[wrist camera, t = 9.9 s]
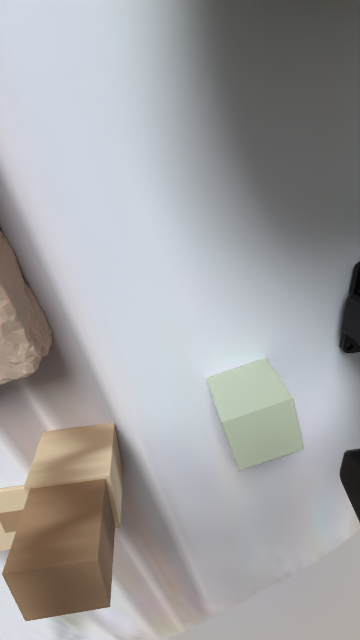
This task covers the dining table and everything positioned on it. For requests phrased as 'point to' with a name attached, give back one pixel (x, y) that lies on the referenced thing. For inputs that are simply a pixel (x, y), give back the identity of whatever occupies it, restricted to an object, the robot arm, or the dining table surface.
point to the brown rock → (19, 321)
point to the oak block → (79, 461)
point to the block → (256, 413)
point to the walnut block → (62, 551)
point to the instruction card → (10, 513)
